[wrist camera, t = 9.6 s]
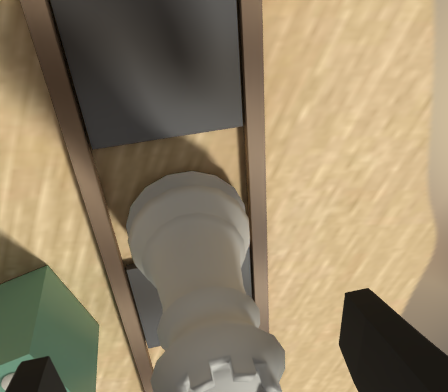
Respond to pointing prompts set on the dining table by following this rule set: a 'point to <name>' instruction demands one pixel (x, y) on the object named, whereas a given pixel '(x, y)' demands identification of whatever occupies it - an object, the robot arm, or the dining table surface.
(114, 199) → the dining table surface
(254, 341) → the rook chess piece
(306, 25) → the dining table surface
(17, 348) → the green die
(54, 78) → the track board
